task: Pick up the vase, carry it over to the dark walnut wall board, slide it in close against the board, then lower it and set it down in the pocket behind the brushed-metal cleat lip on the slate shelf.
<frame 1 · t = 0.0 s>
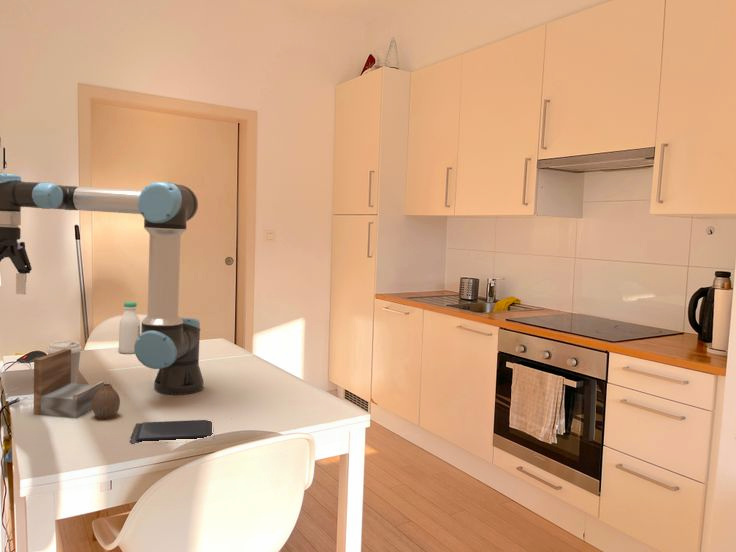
hand: (5, 296, 172), 28 cm above the table, fingers open, 13 cm apart
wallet: (173, 435, 147), on the table
milk bottle: (129, 352, 229), on the table
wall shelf: (73, 408, 160), on the table
coffee cup: (64, 392, 173), on the table
vase: (105, 417, 155), on the table
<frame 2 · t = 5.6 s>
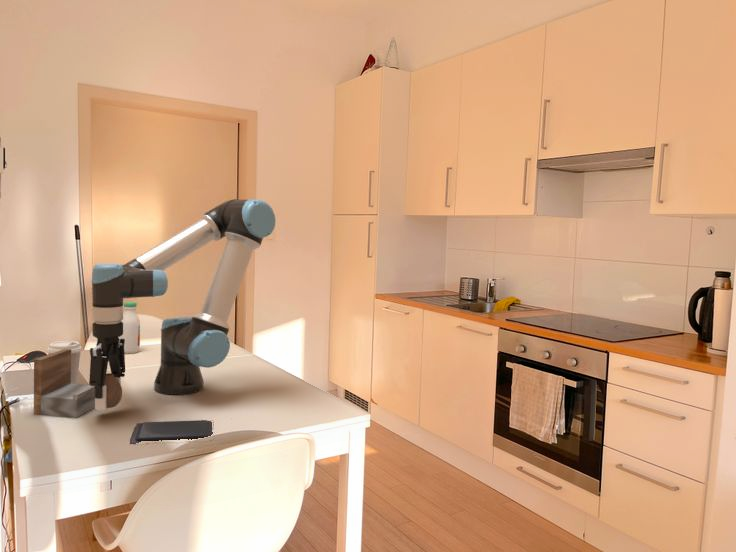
hand: (108, 404, 155), 3 cm above the table, fingers closed on vase, 7 cm apart
vase: (108, 406, 155), point 3 cm above the table, touching gripper
everything else where it was.
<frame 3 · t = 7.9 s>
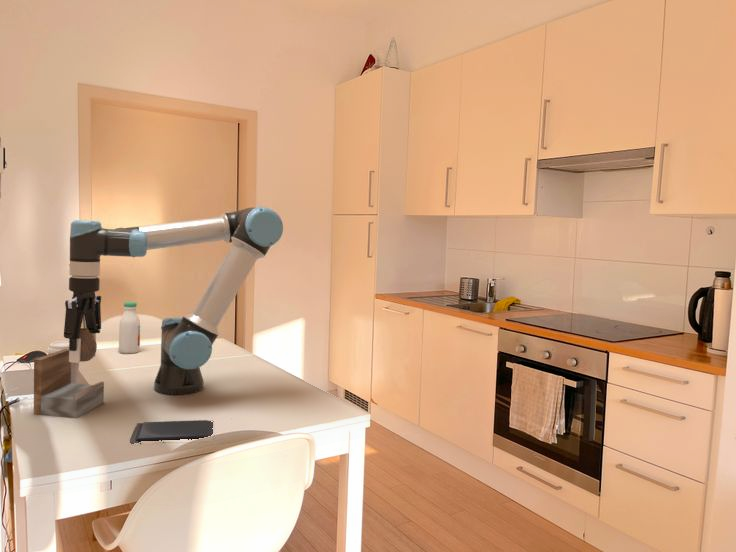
hand: (82, 358, 158), 14 cm above the table, fingers closed on vase, 7 cm apart
vase: (82, 360, 158), point 14 cm above the table, touching gripper
everything else where it was.
when the fingers open (6 cm above the table, at t = 10.2 s): vase stays where it is, resting on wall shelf.
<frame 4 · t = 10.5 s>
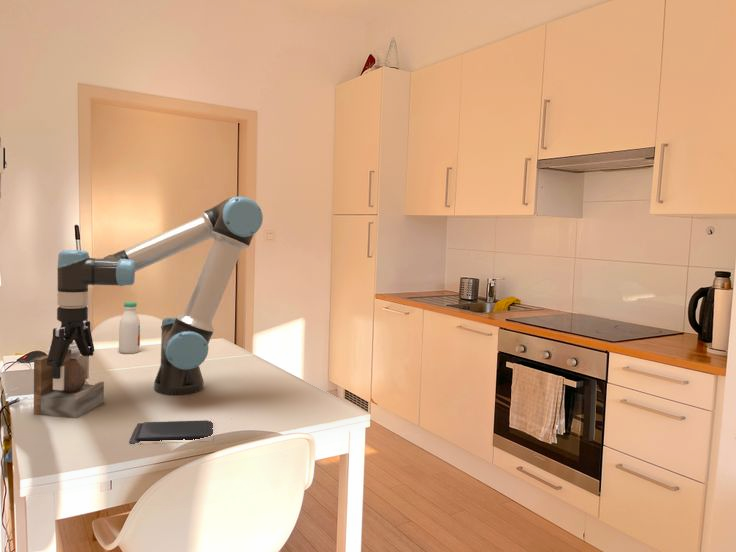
hand: (71, 383, 159), 7 cm above the table, fingers open, 11 cm apart
vase: (71, 391, 160), point 5 cm above the table, touching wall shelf
everything else where it was.
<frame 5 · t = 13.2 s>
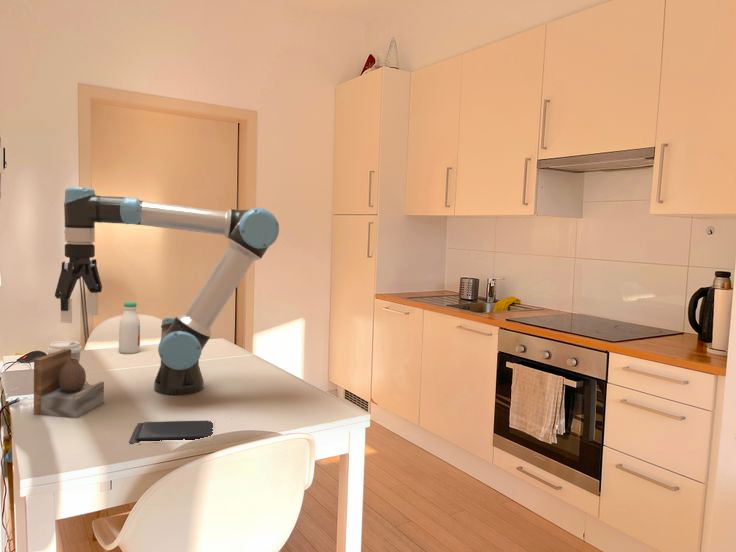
hand: (79, 318, 161), 25 cm above the table, fingers open, 13 cm apart
nothing on the table moved.
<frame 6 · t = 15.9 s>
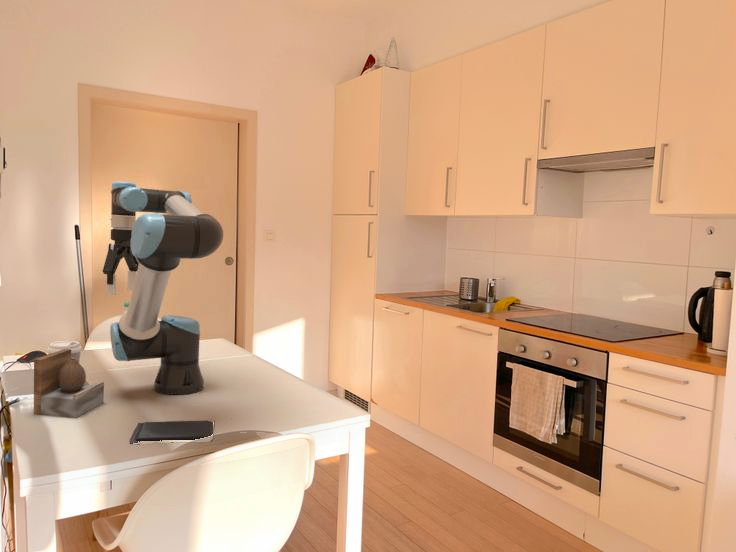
hand: (121, 292, 191), 29 cm above the table, fingers open, 13 cm apart
nothing on the table moved.
at the end: vase inside the target area on the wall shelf (0.9 cm from its centre), point 4.8 cm above the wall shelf's base; vase tilted 0°; the gripper is holding nothing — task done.
